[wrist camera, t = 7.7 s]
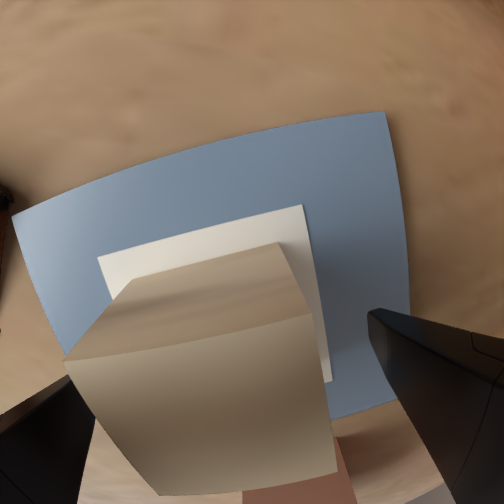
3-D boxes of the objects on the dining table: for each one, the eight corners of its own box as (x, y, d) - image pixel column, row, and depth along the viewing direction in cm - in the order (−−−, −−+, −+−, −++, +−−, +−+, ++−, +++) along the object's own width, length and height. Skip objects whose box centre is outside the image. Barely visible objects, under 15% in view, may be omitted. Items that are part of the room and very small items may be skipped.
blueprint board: (375, 114, 10) (385, 110, 9) (400, 384, 13) (408, 395, 12) (22, 213, 10) (9, 217, 9) (127, 437, 13) (123, 449, 12)
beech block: (306, 367, 11) (337, 471, 6) (180, 393, 11) (159, 495, 7) (277, 241, 10) (311, 313, 5) (131, 279, 10) (61, 361, 5)
